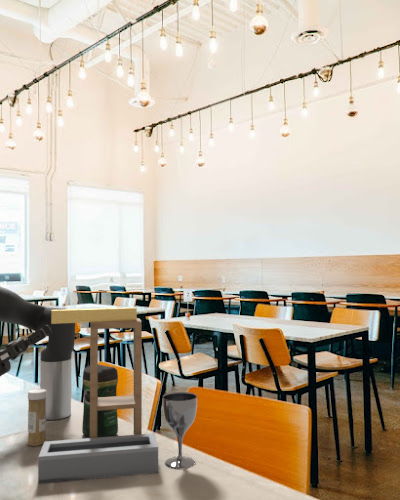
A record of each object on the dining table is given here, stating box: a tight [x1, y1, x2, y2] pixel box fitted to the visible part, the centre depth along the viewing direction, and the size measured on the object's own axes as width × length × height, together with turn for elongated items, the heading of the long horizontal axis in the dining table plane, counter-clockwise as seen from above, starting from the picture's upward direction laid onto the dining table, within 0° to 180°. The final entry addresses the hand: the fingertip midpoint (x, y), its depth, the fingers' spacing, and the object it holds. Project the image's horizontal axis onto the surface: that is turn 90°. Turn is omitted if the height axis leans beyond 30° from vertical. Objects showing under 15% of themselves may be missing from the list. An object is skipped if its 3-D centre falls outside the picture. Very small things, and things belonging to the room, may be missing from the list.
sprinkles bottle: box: [27, 388, 47, 447], centre depth 117 cm, size 5×5×13 cm
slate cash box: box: [37, 432, 159, 485], centre depth 100 cm, size 9×25×6 cm, turn 101°
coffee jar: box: [81, 364, 119, 438], centre depth 123 cm, size 10×8×19 cm
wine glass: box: [162, 391, 198, 470], centre depth 104 cm, size 8×8×15 cm
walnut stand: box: [89, 317, 143, 438], centre depth 110 cm, size 8×12×32 cm, turn 101°
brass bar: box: [51, 307, 138, 324], centre depth 109 cm, size 3×20×3 cm, turn 108°
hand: (47, 330), depth 108 cm, fingers open, 8 cm apart
